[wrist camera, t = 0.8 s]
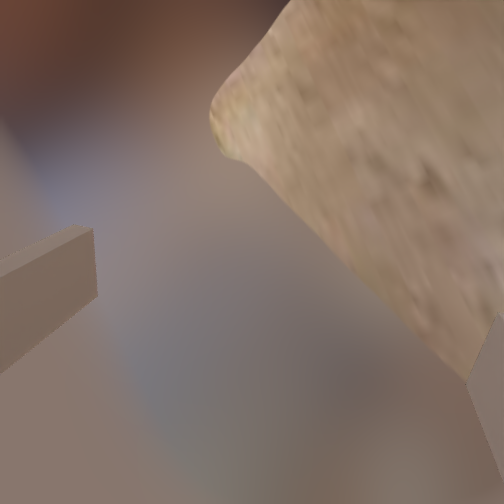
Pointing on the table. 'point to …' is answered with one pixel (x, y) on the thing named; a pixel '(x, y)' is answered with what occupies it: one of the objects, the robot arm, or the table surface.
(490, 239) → the table surface
